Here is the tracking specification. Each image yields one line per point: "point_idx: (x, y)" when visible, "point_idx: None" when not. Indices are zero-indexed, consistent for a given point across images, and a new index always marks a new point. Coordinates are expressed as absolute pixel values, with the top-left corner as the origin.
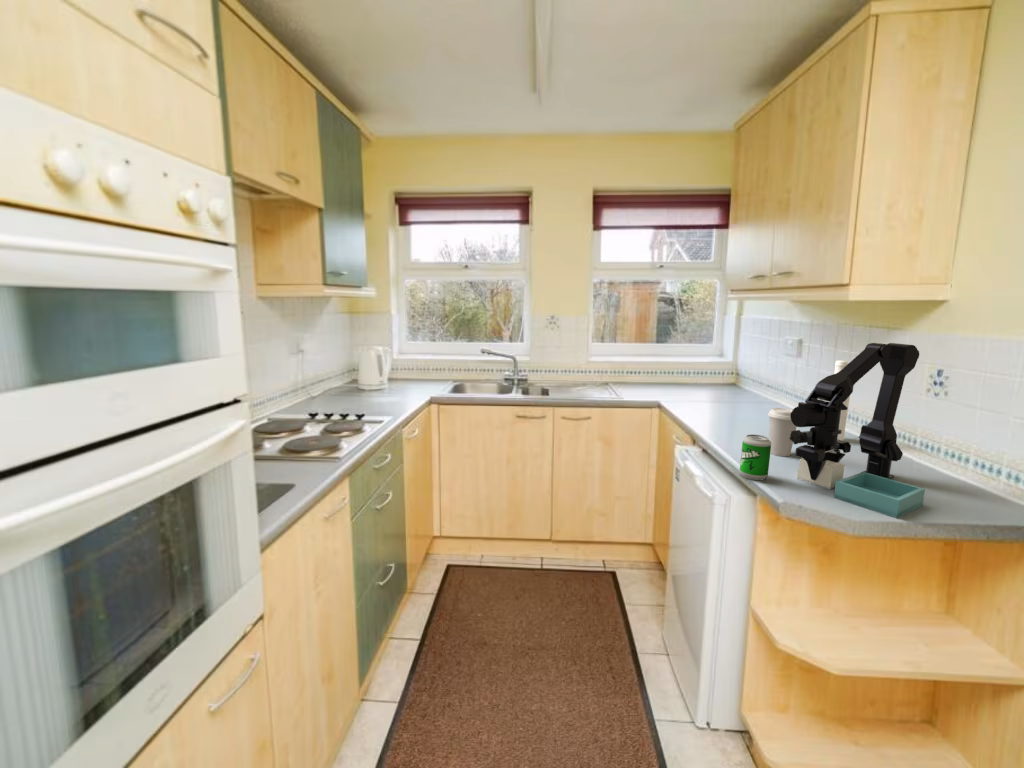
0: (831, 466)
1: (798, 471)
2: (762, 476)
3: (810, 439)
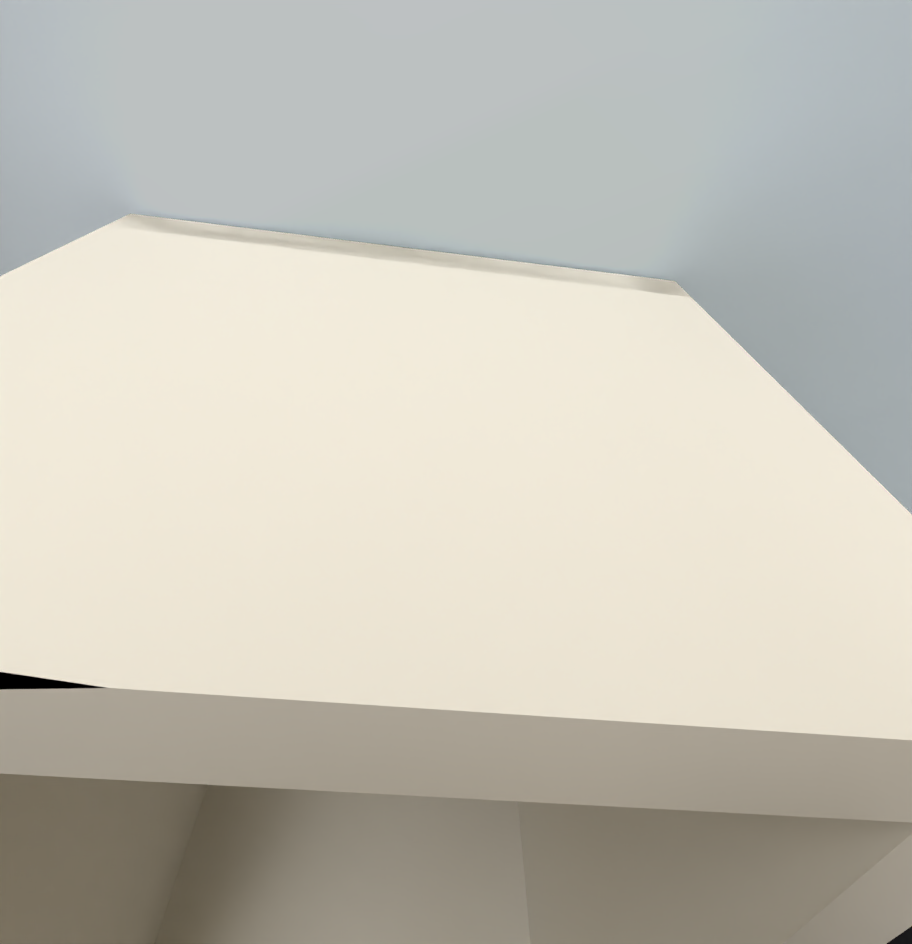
0: (575, 931)
1: (13, 286)
2: None
3: None
